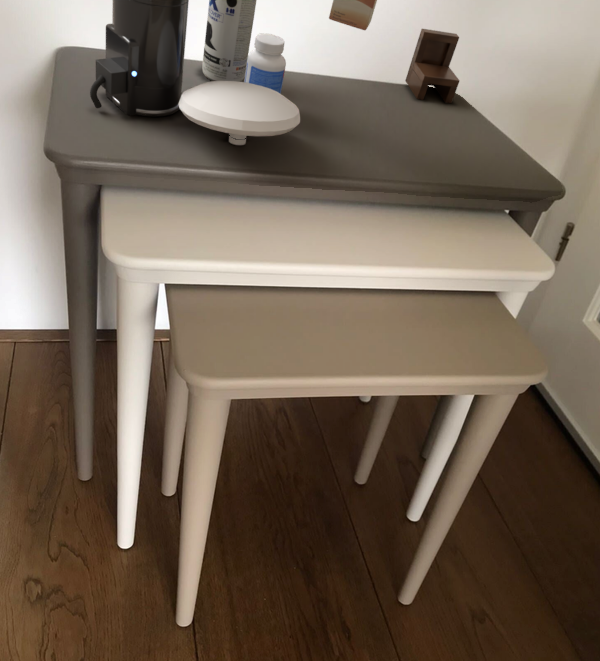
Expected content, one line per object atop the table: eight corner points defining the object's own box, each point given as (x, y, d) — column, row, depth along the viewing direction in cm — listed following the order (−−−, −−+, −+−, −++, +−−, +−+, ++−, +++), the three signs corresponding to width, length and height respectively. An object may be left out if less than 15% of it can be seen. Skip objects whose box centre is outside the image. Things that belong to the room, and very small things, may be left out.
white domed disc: (157, 71, 85) (155, 125, 89) (219, 109, 75) (215, 169, 79) (260, 69, 94) (255, 120, 98) (328, 104, 84) (319, 158, 88)
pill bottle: (284, 114, 97) (297, 47, 90) (252, 117, 94) (263, 48, 88) (266, 96, 100) (277, 30, 94) (234, 99, 97) (243, 31, 91)
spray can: (196, 65, 104) (210, -80, 90) (238, 67, 106) (257, -74, 93) (207, 84, 99) (224, -65, 86) (250, 86, 102) (273, -59, 89)
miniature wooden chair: (416, 99, 112) (434, 45, 105) (405, 80, 116) (421, 28, 110) (451, 103, 113) (471, 50, 107) (438, 85, 118) (456, 33, 112)
